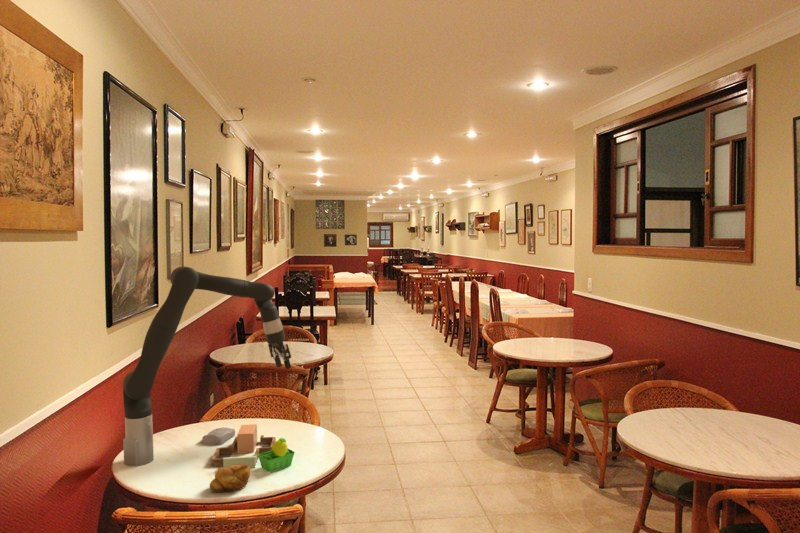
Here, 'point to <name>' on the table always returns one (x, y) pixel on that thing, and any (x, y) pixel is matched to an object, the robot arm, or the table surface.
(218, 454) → the box
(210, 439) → the stone block
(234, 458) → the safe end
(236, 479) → the bread roll
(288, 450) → the fruit basket
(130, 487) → the table surface
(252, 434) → the terracotta brick
